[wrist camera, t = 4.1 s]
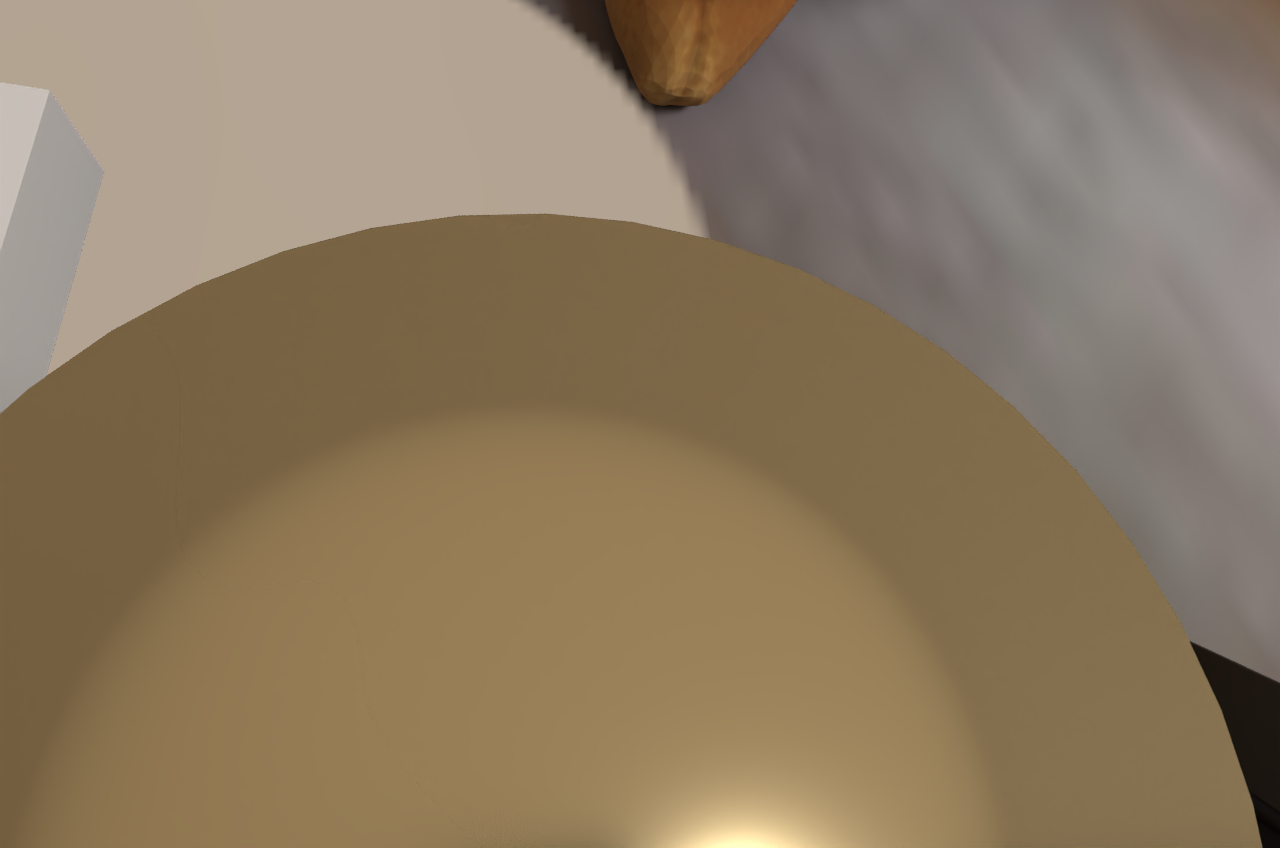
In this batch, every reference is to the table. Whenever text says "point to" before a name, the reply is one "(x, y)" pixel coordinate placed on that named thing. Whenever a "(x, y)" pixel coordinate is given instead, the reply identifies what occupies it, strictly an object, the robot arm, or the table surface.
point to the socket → (38, 229)
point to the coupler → (571, 572)
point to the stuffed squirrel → (690, 43)
